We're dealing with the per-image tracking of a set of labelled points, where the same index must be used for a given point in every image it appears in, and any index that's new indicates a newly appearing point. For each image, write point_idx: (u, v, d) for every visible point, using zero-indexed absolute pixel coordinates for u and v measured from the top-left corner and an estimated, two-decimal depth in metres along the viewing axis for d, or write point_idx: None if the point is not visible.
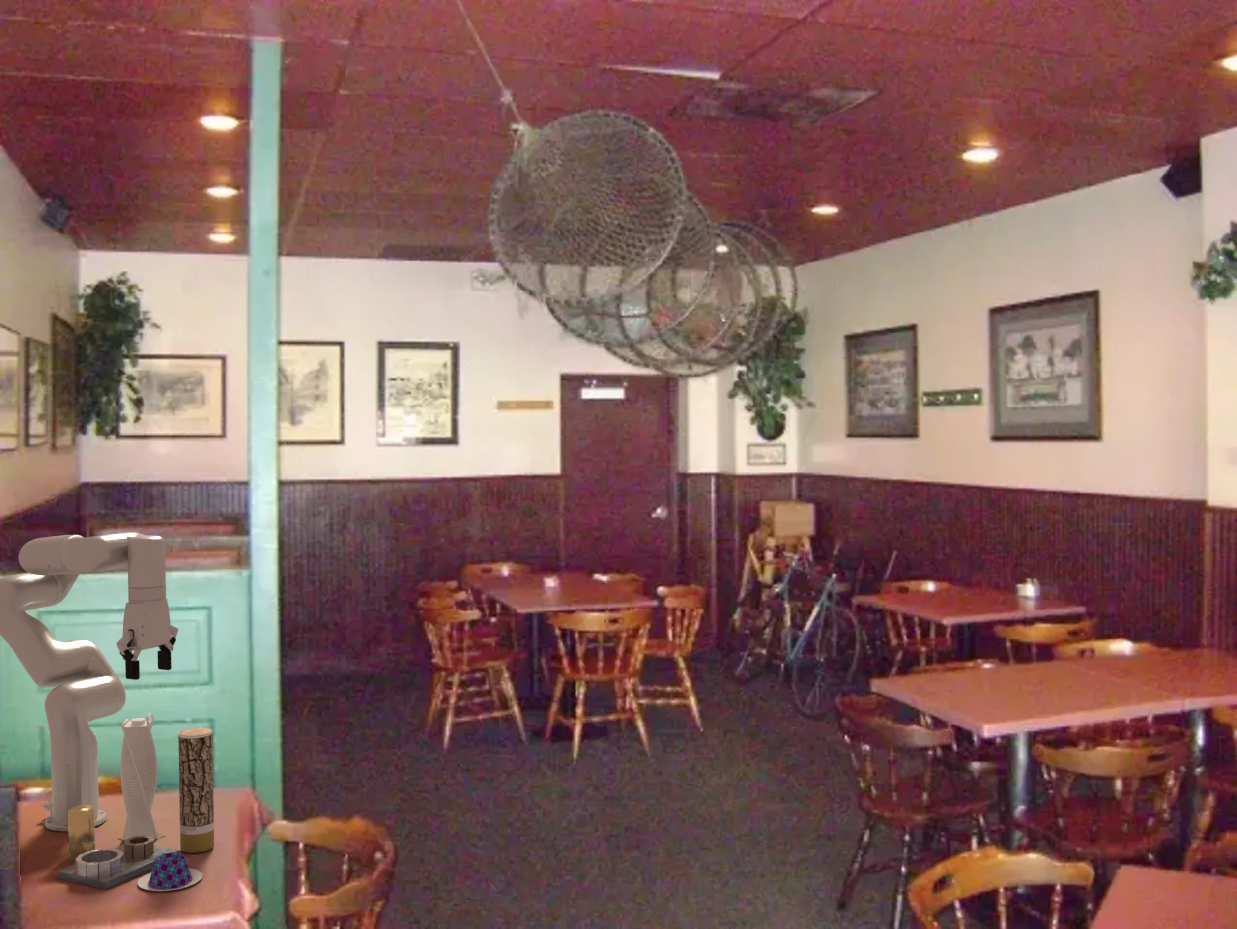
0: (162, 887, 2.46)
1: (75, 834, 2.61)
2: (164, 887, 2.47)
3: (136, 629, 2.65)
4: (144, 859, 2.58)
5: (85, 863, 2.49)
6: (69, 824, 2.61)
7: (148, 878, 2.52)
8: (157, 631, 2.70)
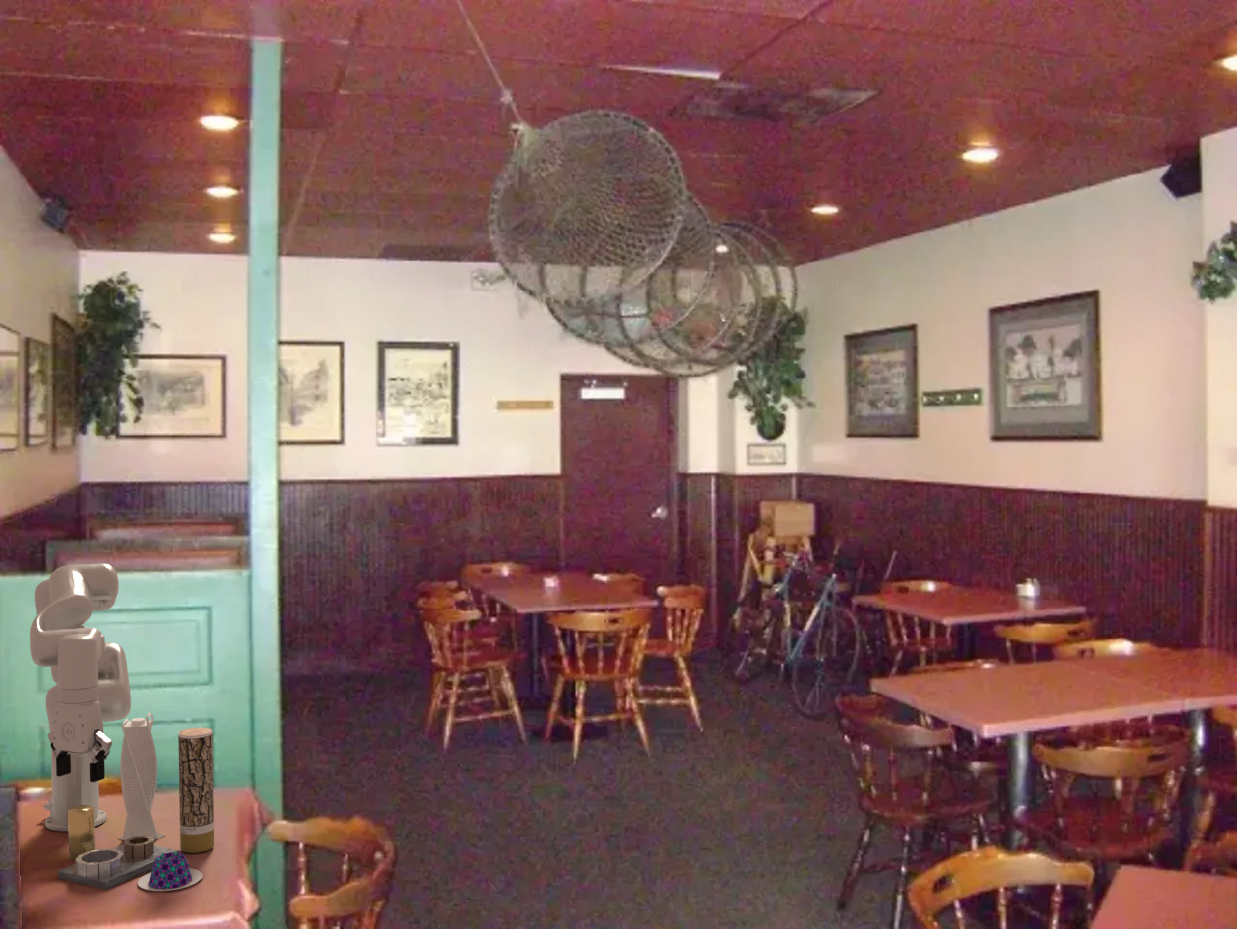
0: (163, 887, 2.46)
1: (75, 834, 2.61)
2: (165, 887, 2.47)
3: (101, 727, 2.61)
4: (144, 859, 2.58)
5: (85, 863, 2.49)
6: (69, 824, 2.61)
7: (148, 878, 2.51)
8: None
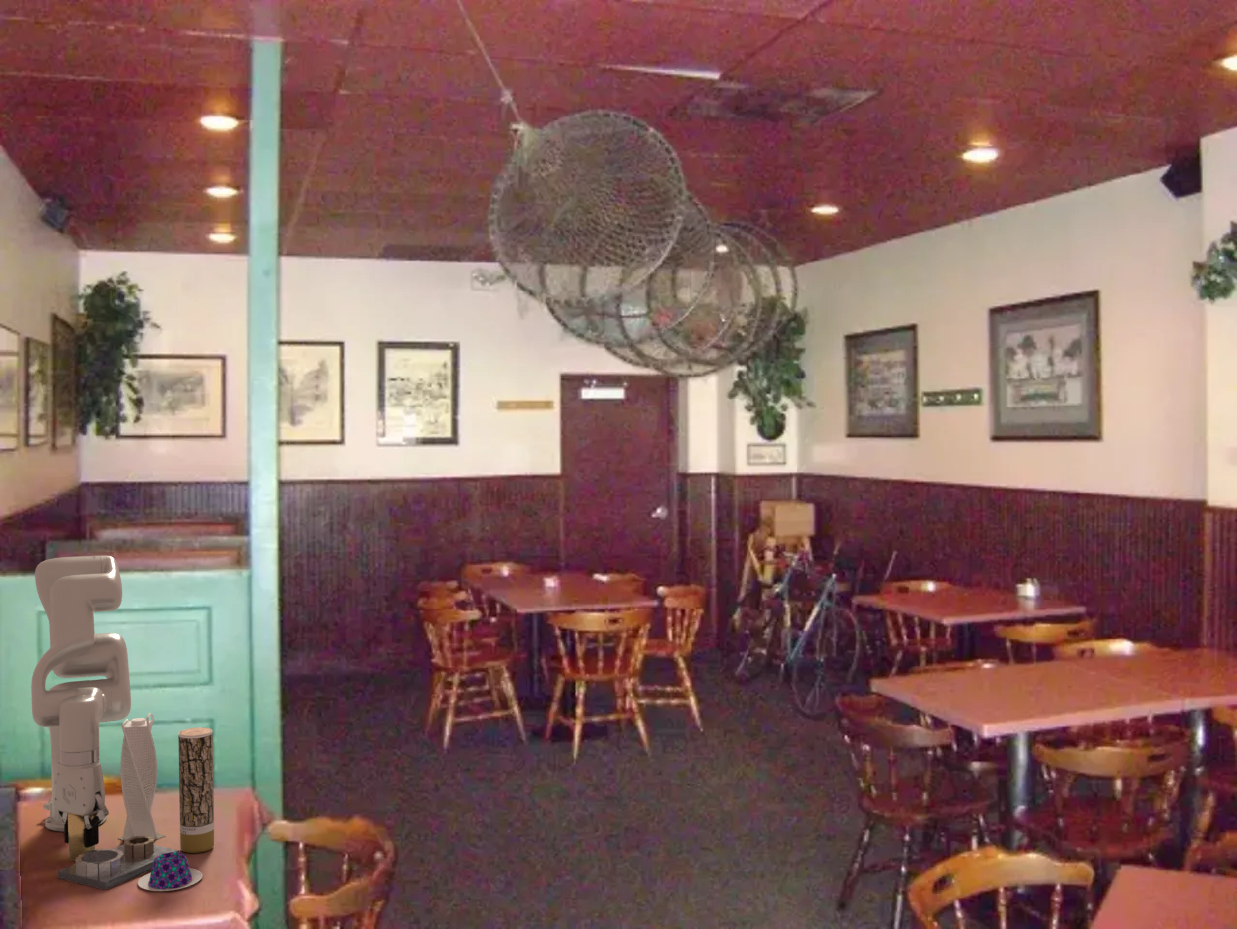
0: (164, 887, 2.46)
1: (75, 834, 2.61)
2: (166, 887, 2.47)
3: (102, 789, 2.62)
4: (144, 859, 2.58)
5: (85, 863, 2.49)
6: (69, 824, 2.61)
7: (147, 879, 2.51)
8: None
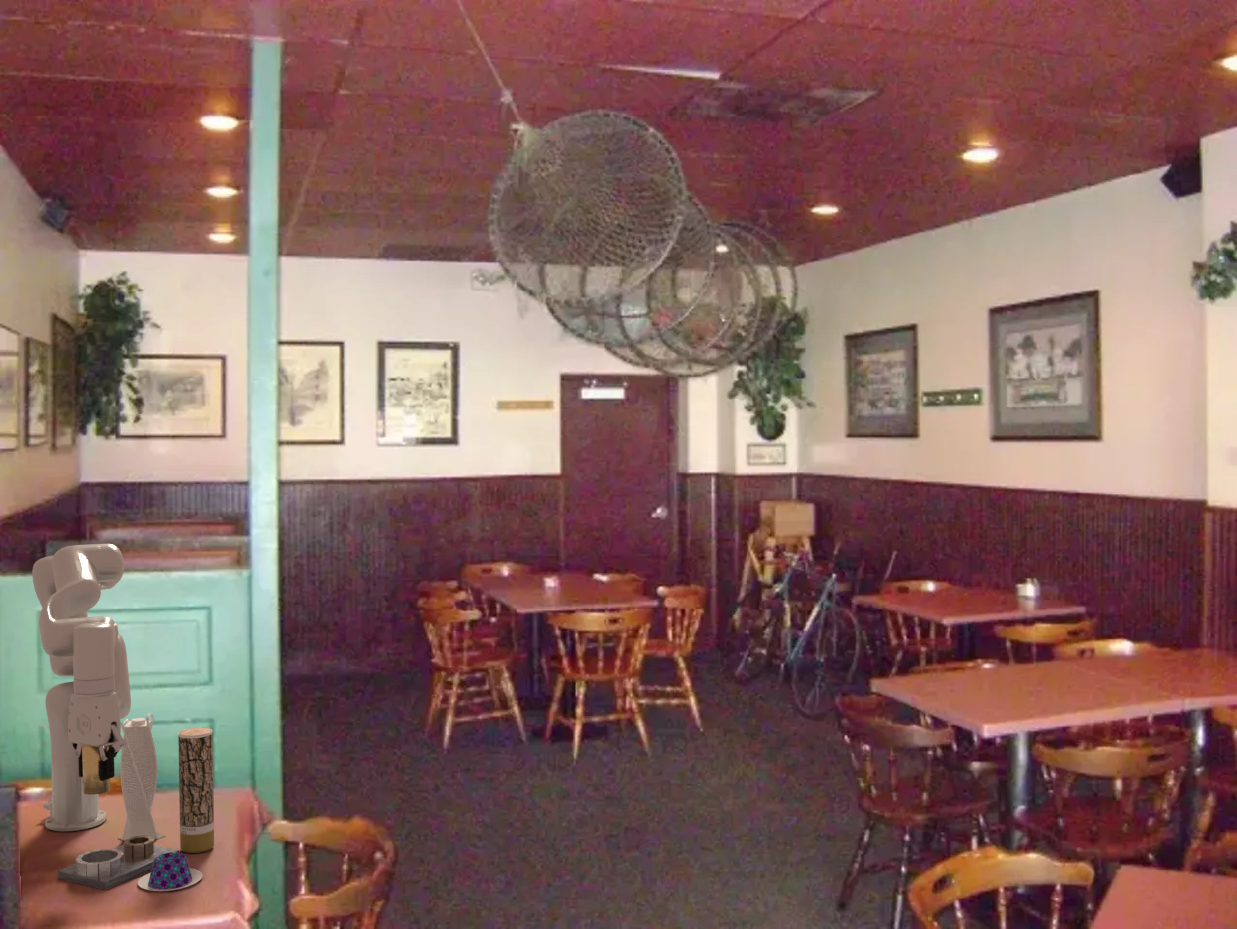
0: (166, 887, 2.47)
1: (90, 767, 2.50)
2: (168, 887, 2.47)
3: (118, 719, 2.51)
4: (144, 859, 2.58)
5: (85, 863, 2.49)
6: (83, 756, 2.50)
7: (146, 880, 2.51)
8: None
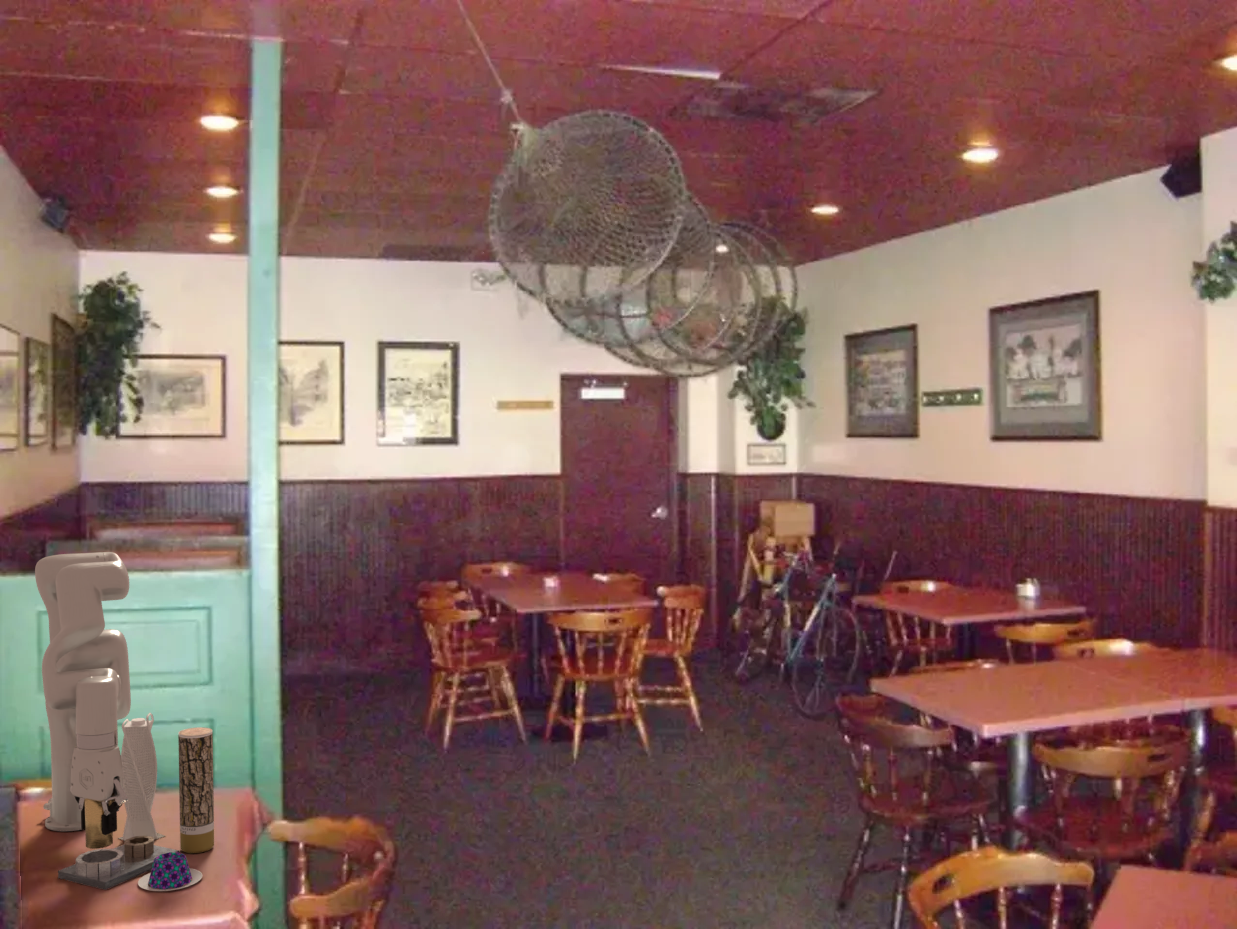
0: (167, 887, 2.47)
1: (92, 821, 2.50)
2: (169, 887, 2.47)
3: (120, 774, 2.51)
4: (144, 859, 2.58)
5: (85, 863, 2.49)
6: (86, 810, 2.50)
7: (145, 880, 2.50)
8: None
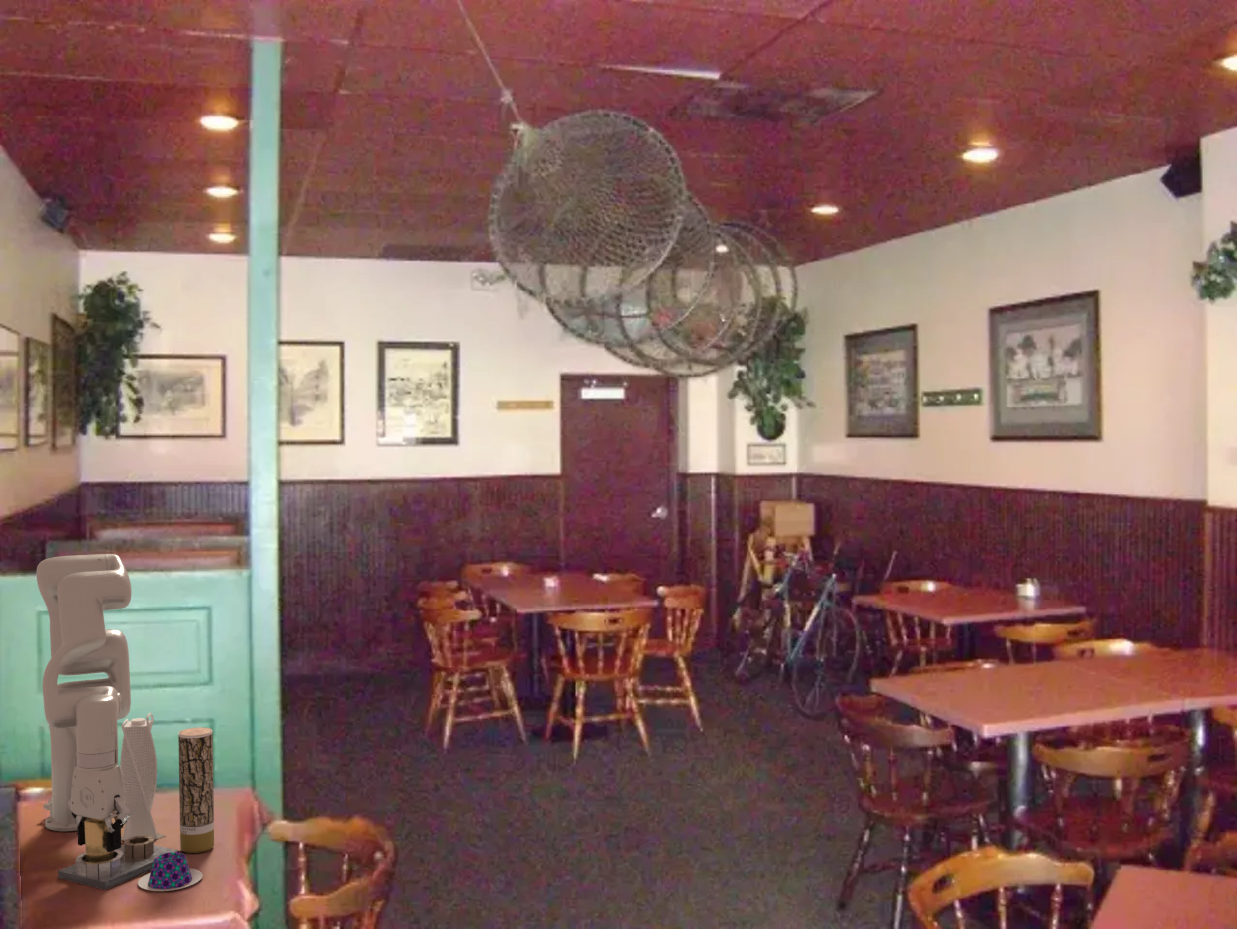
0: (168, 887, 2.47)
1: (93, 846, 2.50)
2: (170, 886, 2.47)
3: (121, 792, 2.51)
4: (144, 859, 2.58)
5: (85, 863, 2.49)
6: (86, 835, 2.50)
7: (145, 881, 2.50)
8: None
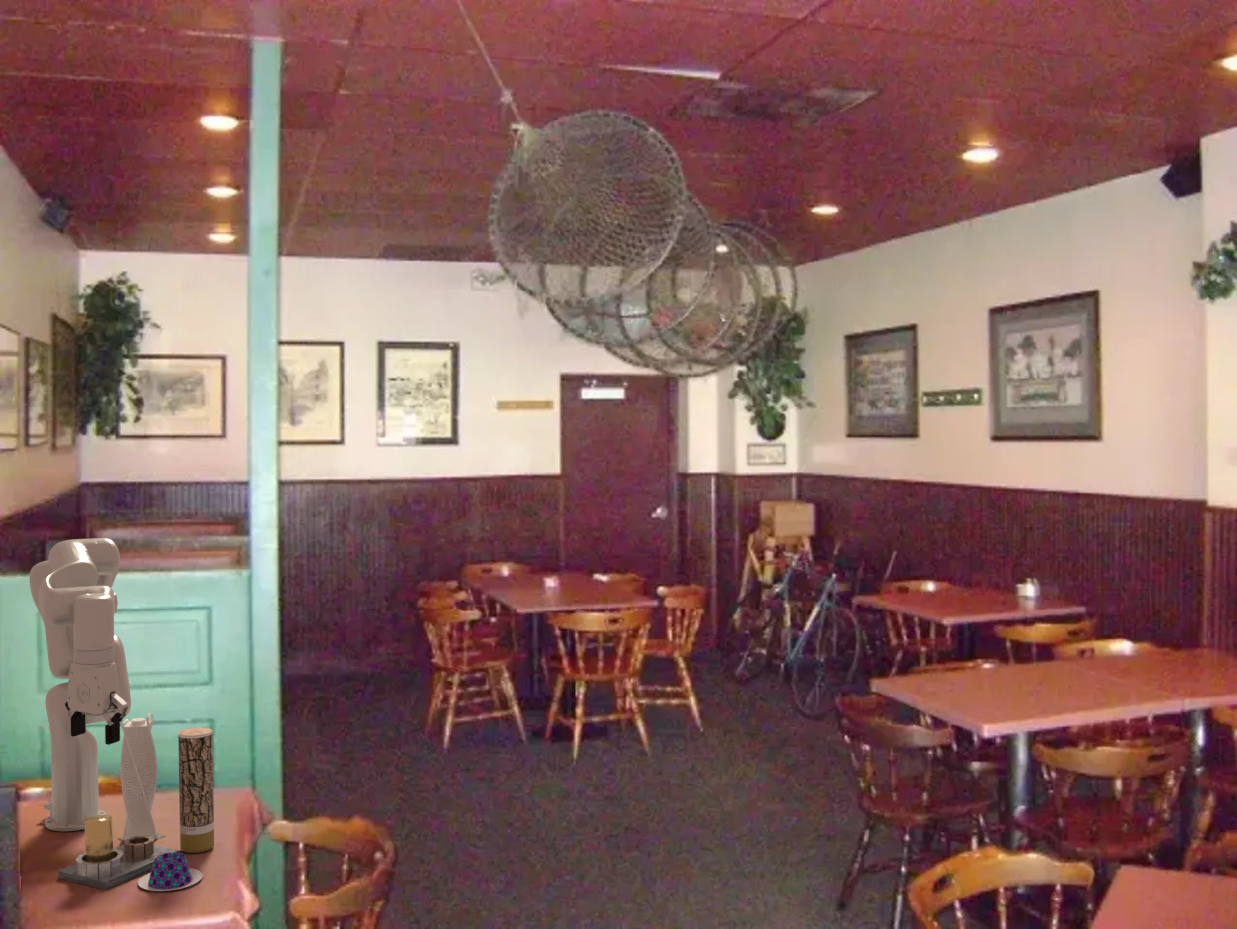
0: (170, 886, 2.47)
1: (92, 846, 2.50)
2: (172, 886, 2.47)
3: (117, 689, 2.55)
4: (144, 859, 2.58)
5: (85, 863, 2.49)
6: (86, 835, 2.50)
7: (144, 881, 2.50)
8: None
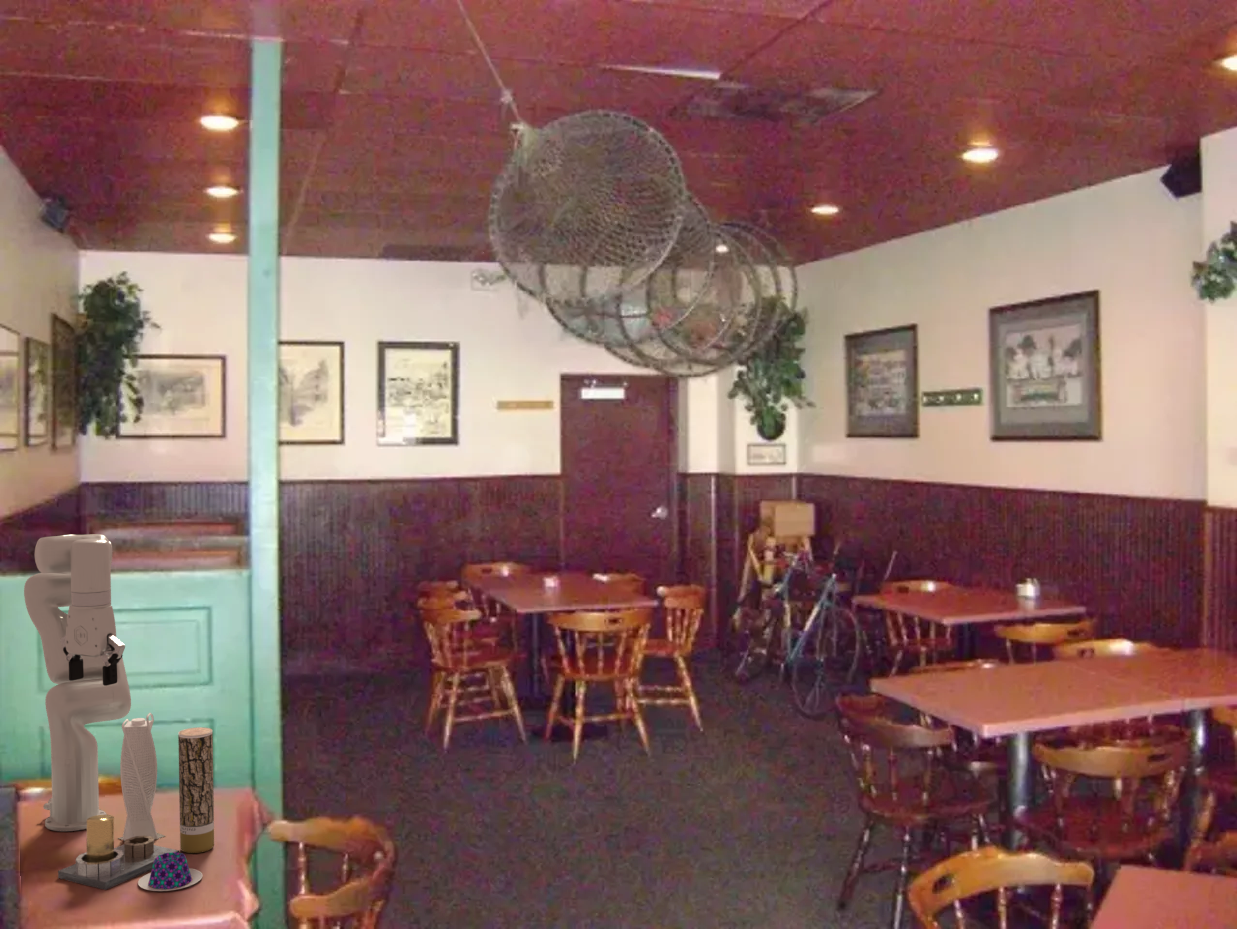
0: (172, 886, 2.47)
1: (93, 845, 2.50)
2: (174, 886, 2.47)
3: (114, 631, 2.61)
4: (144, 859, 2.58)
5: (85, 863, 2.49)
6: (87, 834, 2.51)
7: (144, 882, 2.49)
8: None
